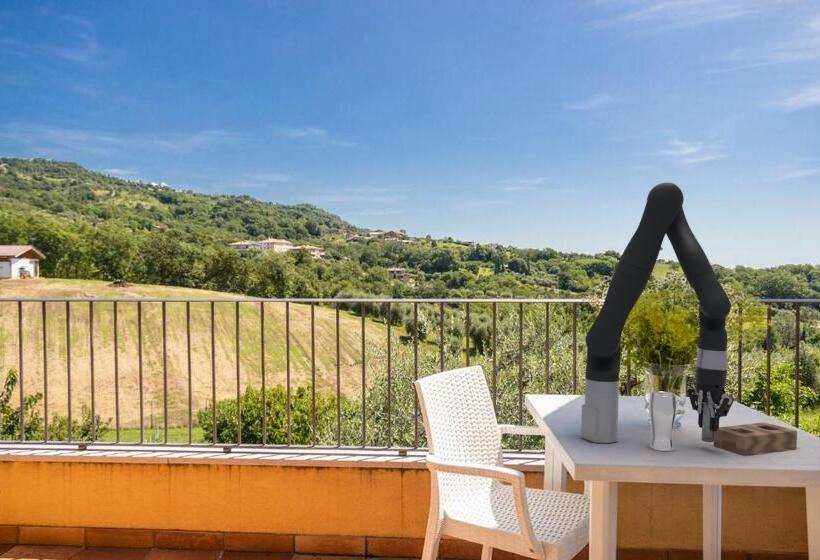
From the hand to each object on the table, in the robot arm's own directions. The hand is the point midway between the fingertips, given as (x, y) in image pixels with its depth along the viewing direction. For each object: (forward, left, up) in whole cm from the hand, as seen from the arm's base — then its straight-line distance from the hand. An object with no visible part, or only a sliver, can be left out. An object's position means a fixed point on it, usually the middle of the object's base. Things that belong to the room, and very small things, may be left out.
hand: (708, 428), depth 171 cm
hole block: (+15, -2, -6) cm, 16 cm away
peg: (0, 0, -3) cm, 3 cm away
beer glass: (-11, +6, -6) cm, 14 cm away
